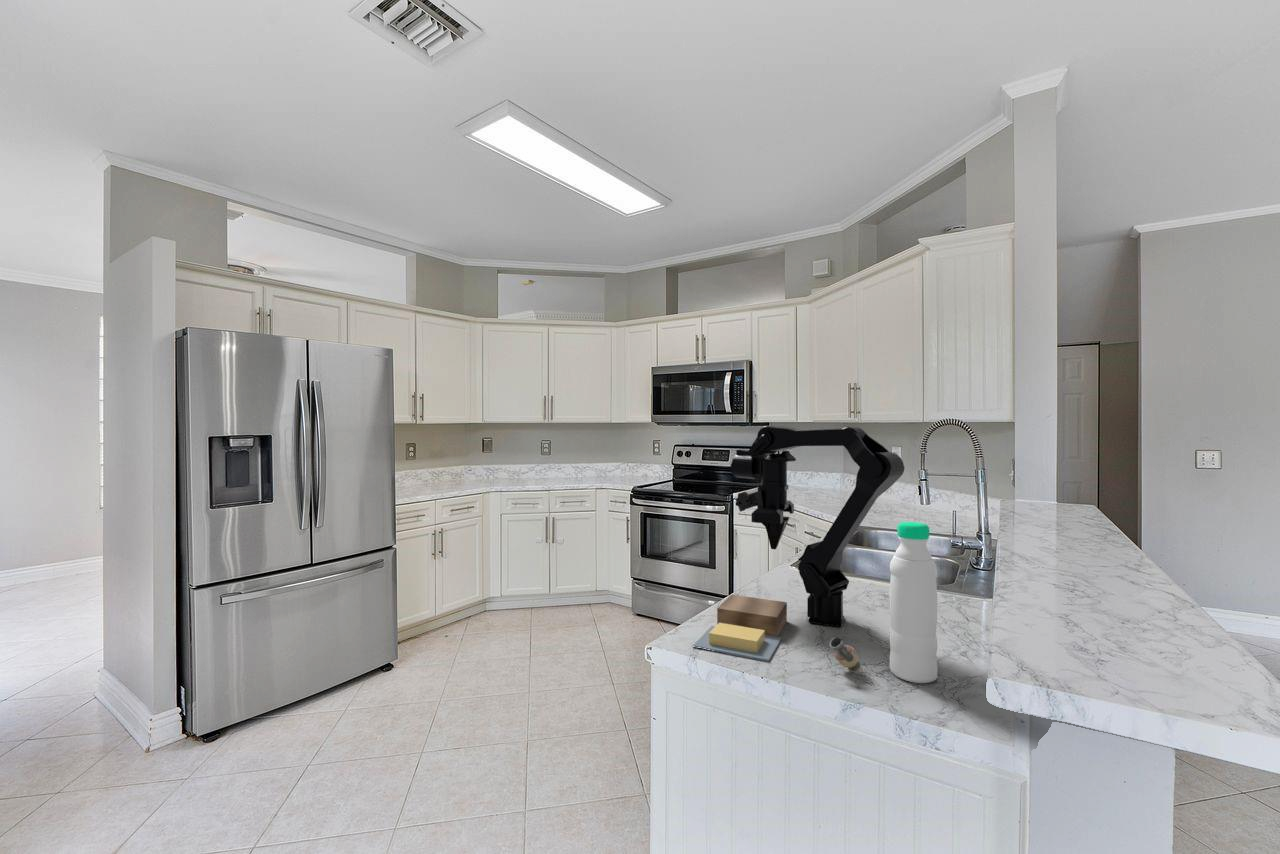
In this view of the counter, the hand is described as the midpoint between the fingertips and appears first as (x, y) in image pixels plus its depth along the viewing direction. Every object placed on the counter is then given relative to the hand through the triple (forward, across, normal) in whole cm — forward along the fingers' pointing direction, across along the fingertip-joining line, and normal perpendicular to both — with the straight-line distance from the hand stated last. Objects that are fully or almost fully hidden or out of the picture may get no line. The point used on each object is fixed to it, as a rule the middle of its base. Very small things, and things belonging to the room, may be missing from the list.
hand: (773, 548), depth 124 cm
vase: (+13, +29, +17) cm, 36 cm away
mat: (+13, +25, -2) cm, 28 cm away
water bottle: (+13, +25, +28) cm, 40 cm away
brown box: (+13, +14, -2) cm, 19 cm away
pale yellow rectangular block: (+11, +25, -2) cm, 27 cm away
